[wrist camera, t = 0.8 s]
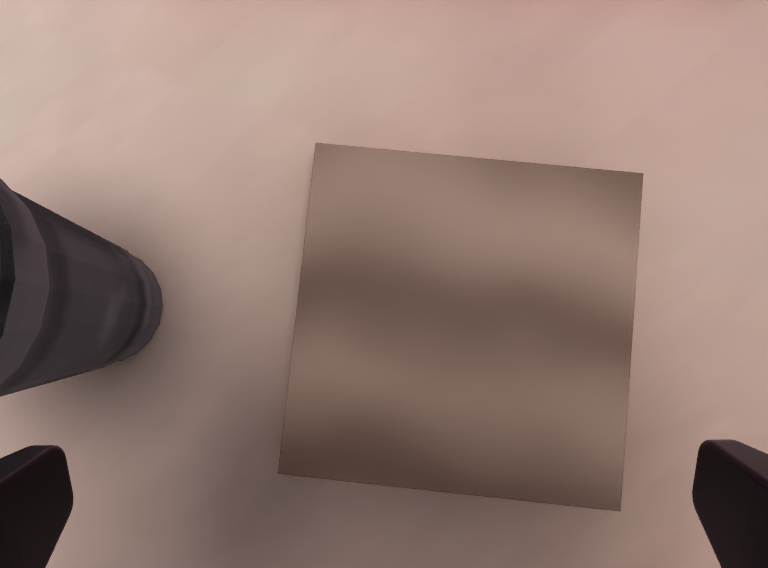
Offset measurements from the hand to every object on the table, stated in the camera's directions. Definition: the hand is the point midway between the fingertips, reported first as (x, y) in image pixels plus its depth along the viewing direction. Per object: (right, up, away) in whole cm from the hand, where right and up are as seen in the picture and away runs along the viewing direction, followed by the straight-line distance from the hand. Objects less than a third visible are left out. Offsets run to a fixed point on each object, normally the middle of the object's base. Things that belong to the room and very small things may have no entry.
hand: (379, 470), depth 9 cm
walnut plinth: (+3, +1, +15) cm, 15 cm away
